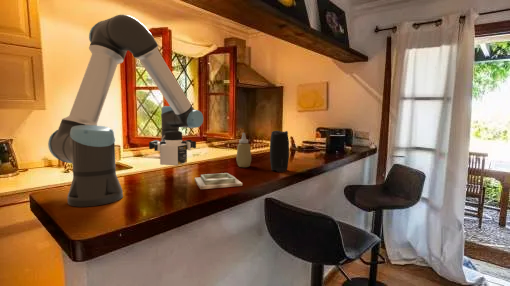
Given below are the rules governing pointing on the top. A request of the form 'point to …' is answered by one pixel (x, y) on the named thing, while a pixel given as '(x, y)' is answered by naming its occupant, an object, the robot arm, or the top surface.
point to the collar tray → (217, 181)
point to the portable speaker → (279, 151)
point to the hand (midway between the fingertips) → (174, 146)
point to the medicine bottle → (173, 149)
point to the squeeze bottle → (243, 152)
